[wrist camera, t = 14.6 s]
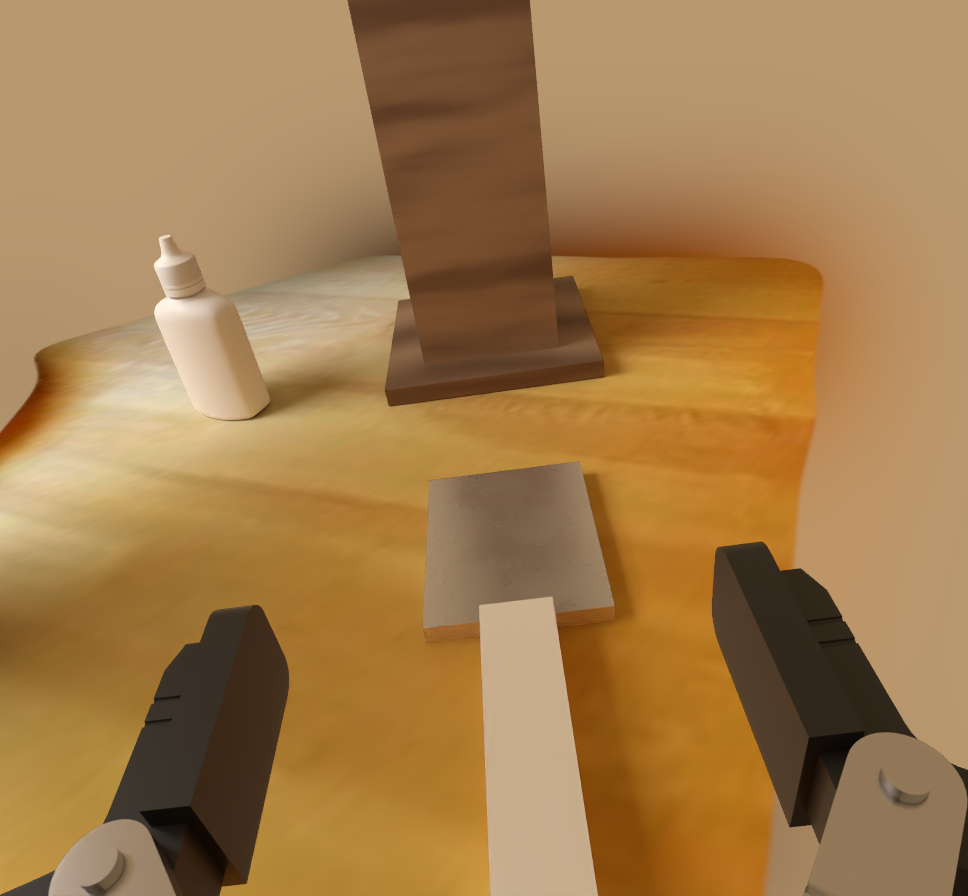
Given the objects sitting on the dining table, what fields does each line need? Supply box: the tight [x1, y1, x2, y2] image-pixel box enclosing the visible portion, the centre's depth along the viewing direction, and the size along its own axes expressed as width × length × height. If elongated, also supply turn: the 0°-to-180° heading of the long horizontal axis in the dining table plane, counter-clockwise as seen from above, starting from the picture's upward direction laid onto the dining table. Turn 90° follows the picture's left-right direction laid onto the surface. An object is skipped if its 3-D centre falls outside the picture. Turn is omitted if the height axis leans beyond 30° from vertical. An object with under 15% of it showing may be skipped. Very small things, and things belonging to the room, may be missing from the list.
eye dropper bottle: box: [154, 235, 270, 420], centre depth 46 cm, size 4×6×12 cm
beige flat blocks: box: [423, 461, 615, 896], centre depth 27 cm, size 26×8×2 cm, turn 2°
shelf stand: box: [348, 0, 604, 406], centre depth 42 cm, size 18×14×32 cm
